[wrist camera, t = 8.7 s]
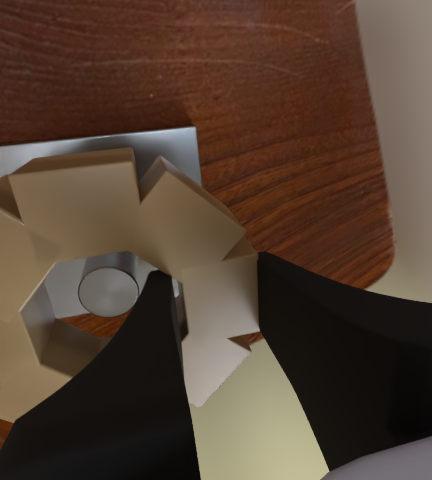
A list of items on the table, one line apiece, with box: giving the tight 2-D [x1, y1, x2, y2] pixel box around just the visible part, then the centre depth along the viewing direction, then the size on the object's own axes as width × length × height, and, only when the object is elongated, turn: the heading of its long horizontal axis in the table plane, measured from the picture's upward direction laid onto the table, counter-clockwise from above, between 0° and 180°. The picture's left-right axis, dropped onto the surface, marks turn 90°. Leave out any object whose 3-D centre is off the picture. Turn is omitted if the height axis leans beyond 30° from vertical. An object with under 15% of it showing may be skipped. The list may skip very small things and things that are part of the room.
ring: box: [0, 147, 260, 423], centre depth 11 cm, size 9×9×2 cm
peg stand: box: [0, 124, 202, 319], centre depth 15 cm, size 9×9×7 cm
